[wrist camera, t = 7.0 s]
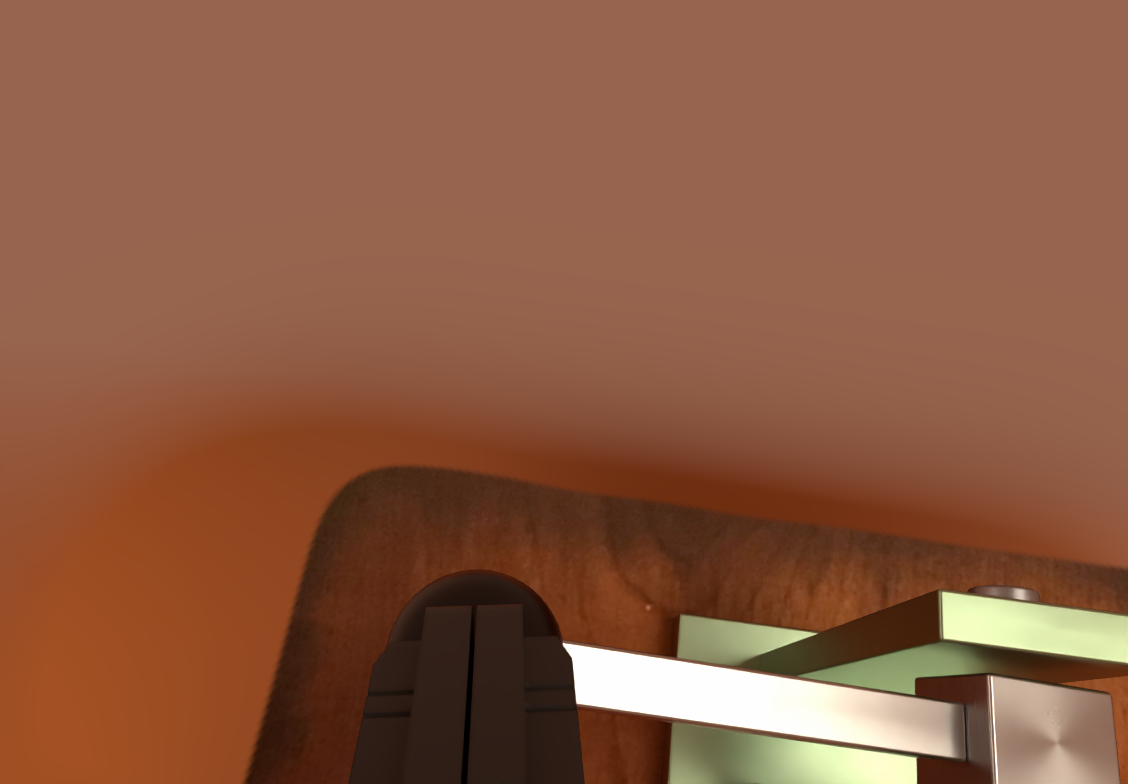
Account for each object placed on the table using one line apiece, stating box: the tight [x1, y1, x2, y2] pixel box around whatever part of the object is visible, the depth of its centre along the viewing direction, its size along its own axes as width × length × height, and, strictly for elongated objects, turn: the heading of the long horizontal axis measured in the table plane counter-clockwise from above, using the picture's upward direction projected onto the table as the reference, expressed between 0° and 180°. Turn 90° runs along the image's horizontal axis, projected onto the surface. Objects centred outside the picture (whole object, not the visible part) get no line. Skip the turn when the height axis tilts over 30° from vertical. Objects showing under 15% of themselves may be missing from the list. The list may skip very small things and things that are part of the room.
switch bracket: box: [662, 585, 1128, 784], centre depth 23 cm, size 10×7×15 cm
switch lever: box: [386, 570, 1121, 784], centre depth 17 cm, size 14×3×3 cm, turn 83°
